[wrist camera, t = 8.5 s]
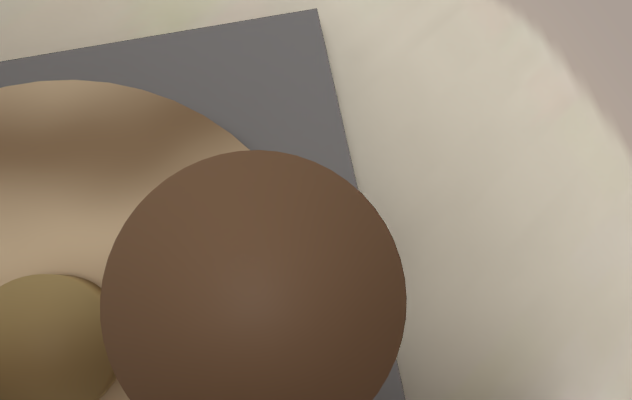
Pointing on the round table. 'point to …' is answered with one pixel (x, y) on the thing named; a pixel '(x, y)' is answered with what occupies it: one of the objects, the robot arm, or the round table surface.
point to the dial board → (229, 88)
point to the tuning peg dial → (181, 259)
